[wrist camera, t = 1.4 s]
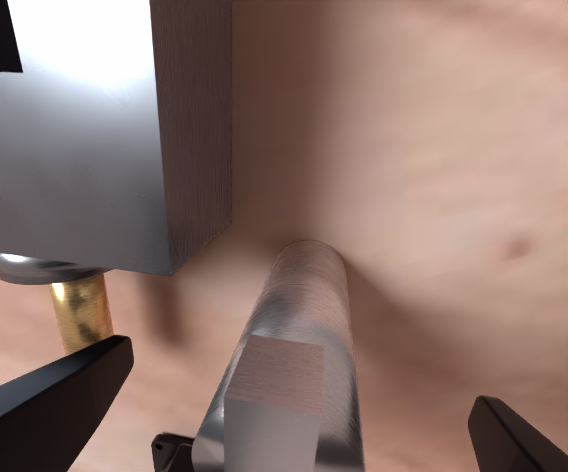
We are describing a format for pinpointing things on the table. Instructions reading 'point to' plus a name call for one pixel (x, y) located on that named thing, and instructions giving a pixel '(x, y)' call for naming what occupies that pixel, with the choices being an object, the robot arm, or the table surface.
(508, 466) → the robot arm
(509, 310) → the table surface
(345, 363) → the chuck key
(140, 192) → the block
